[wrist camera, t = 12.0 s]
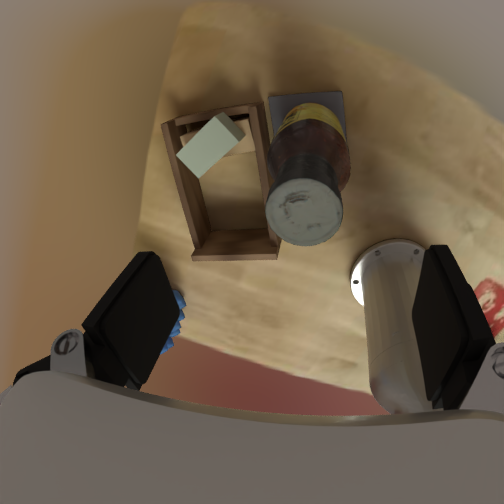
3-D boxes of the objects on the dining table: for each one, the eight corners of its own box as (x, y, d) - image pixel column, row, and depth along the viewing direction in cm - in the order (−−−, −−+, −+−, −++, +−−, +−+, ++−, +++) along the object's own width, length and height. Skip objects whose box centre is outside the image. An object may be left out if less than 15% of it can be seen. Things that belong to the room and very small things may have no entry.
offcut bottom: (254, 114, 32) (247, 119, 29) (261, 142, 33) (255, 150, 31) (191, 130, 34) (179, 136, 31) (199, 156, 36) (189, 164, 33)
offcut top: (223, 111, 29) (214, 116, 26) (245, 135, 30) (239, 141, 27) (186, 147, 32) (175, 155, 29) (207, 169, 33) (198, 178, 30)
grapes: (157, 264, 47) (121, 316, 38) (195, 277, 47) (166, 333, 37) (158, 311, 54) (130, 360, 45) (191, 322, 54) (168, 375, 44)
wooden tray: (263, 101, 30) (252, 108, 26) (282, 233, 39) (276, 259, 35) (177, 117, 33) (154, 127, 28) (207, 236, 42) (192, 261, 37)
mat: (341, 91, 28) (341, 91, 27) (347, 159, 32) (347, 160, 32) (268, 96, 30) (268, 97, 29) (279, 163, 34) (278, 164, 34)
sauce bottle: (288, 95, 29) (251, 129, 13) (345, 109, 28) (384, 161, 12) (279, 150, 33) (235, 246, 17) (332, 163, 32) (344, 271, 16)
